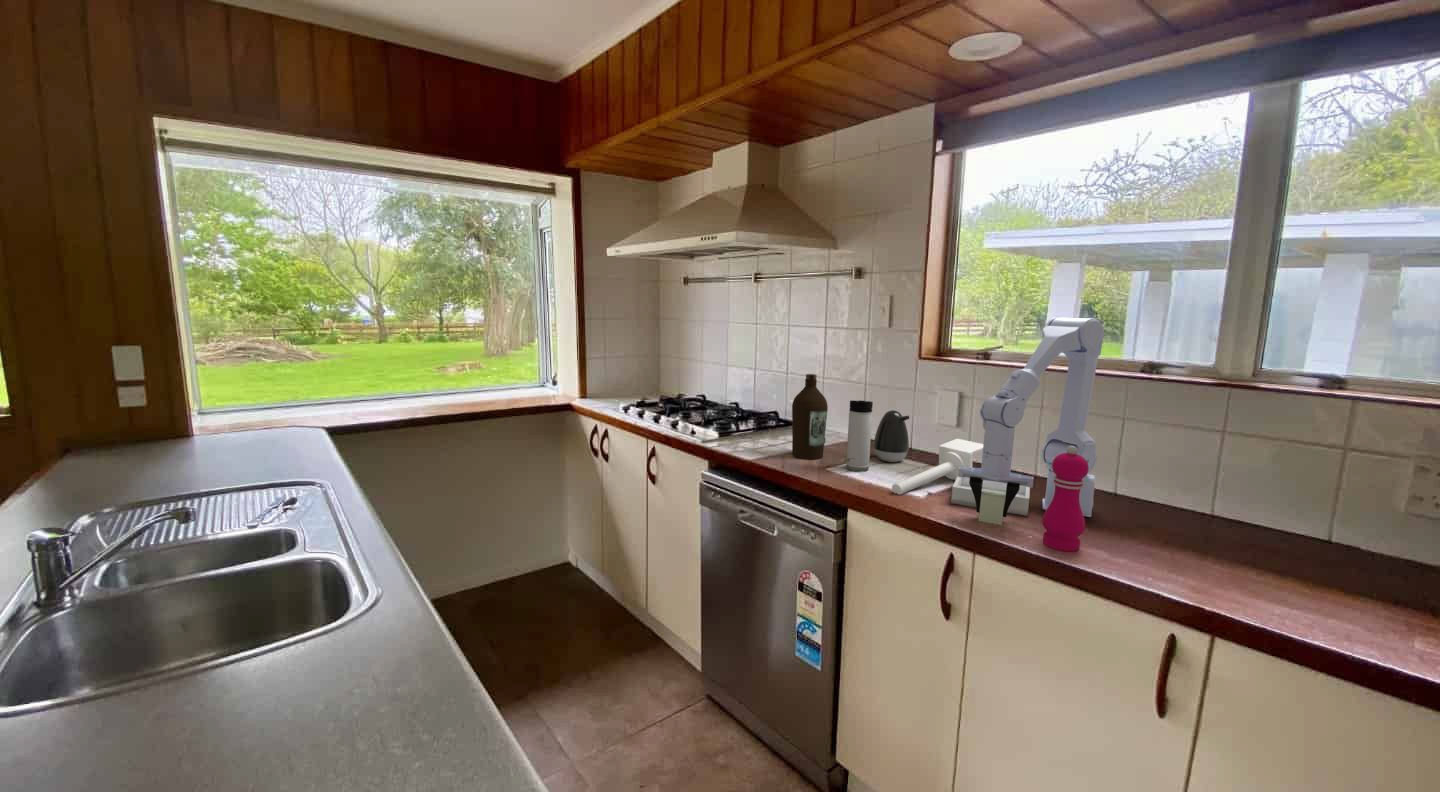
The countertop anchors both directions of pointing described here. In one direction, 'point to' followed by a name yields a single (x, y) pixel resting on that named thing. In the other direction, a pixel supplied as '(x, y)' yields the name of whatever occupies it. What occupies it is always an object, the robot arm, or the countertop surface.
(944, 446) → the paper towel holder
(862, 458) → the travel mug
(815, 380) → the olive oil
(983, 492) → the sage block
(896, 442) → the pump dispenser
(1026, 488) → the grey bin
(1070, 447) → the pepper mill
